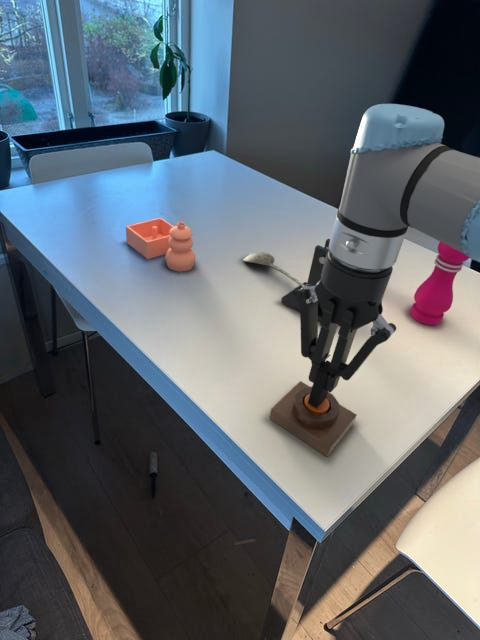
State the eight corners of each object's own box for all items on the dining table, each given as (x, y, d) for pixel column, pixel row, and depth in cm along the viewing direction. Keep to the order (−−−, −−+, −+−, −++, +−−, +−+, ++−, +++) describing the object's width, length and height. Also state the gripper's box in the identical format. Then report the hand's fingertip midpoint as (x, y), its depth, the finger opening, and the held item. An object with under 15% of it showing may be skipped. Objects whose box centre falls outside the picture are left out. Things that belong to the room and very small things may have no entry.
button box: (353, 424, 67) (360, 406, 65) (327, 457, 62) (333, 439, 60) (297, 390, 72) (302, 372, 69) (269, 418, 67) (273, 400, 64)
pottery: (126, 242, 105) (124, 202, 99) (160, 233, 110) (160, 195, 104) (170, 277, 95) (170, 235, 89) (205, 265, 100) (208, 225, 94)
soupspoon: (260, 256, 107) (237, 264, 104) (260, 243, 105) (237, 251, 102) (324, 294, 92) (300, 304, 89) (326, 279, 90) (301, 289, 87)
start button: (331, 409, 66) (334, 401, 65) (319, 423, 63) (321, 415, 62) (310, 397, 67) (312, 389, 66) (297, 410, 65) (300, 402, 64)
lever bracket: (353, 310, 92) (371, 250, 84) (331, 329, 86) (349, 267, 78) (303, 286, 97) (317, 228, 89) (280, 302, 91) (292, 242, 83)
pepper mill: (410, 323, 90) (447, 233, 78) (405, 303, 96) (440, 217, 84) (446, 330, 90) (490, 240, 78) (439, 309, 95) (479, 223, 83)
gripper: (294, 245, 51) (265, 390, 65) (402, 293, 45) (344, 441, 59) (326, 227, 56) (293, 365, 70) (428, 268, 50) (369, 410, 64)
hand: (316, 400), depth 64 cm, fingers closed
